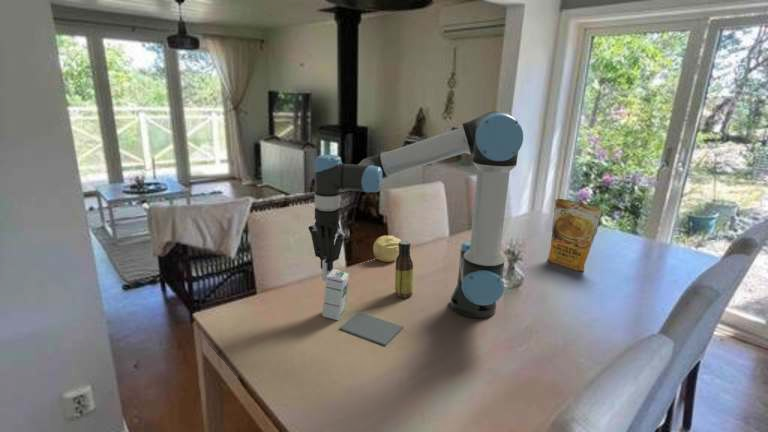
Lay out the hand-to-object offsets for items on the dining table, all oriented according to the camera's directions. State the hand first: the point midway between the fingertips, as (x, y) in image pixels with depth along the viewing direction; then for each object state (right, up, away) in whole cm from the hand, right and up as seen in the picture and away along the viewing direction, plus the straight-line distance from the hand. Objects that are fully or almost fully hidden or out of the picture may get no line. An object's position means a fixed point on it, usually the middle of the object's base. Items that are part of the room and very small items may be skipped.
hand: (326, 279), depth 128 cm
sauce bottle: (+25, -8, +17) cm, 31 cm away
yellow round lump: (+19, +1, +48) cm, 52 cm away
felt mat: (+14, -14, -5) cm, 21 cm away
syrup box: (+2, -12, +2) cm, 12 cm away
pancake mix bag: (+97, -2, +49) cm, 109 cm away
